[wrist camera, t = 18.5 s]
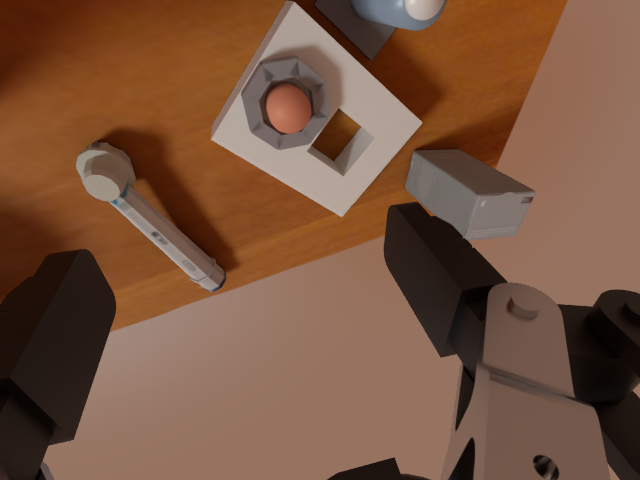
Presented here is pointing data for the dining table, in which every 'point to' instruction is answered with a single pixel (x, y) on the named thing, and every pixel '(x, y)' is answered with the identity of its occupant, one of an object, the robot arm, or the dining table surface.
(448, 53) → the dining table surface
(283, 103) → the brown egg
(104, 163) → the grey elongated piece
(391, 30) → the mat
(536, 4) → the dining table surface
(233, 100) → the housing
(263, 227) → the dining table surface
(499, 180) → the skincare box
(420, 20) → the cartridge
